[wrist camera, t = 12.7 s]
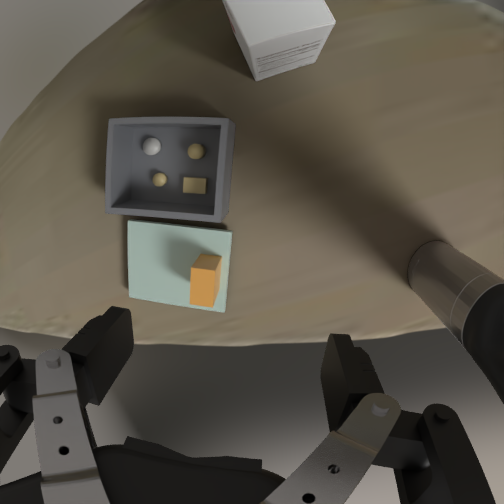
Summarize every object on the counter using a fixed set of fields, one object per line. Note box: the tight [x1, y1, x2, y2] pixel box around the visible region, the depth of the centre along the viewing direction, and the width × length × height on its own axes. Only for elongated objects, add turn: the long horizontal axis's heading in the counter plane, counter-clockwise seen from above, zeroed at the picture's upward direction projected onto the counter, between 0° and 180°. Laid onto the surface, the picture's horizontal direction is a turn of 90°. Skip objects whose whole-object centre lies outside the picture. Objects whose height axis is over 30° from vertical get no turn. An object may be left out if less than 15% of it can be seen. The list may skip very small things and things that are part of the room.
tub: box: [105, 117, 236, 223], centre depth 38 cm, size 15×12×7 cm
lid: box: [128, 219, 233, 312], centre depth 42 cm, size 15×12×8 cm
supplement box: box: [222, 0, 336, 81], centre depth 29 cm, size 9×9×15 cm
